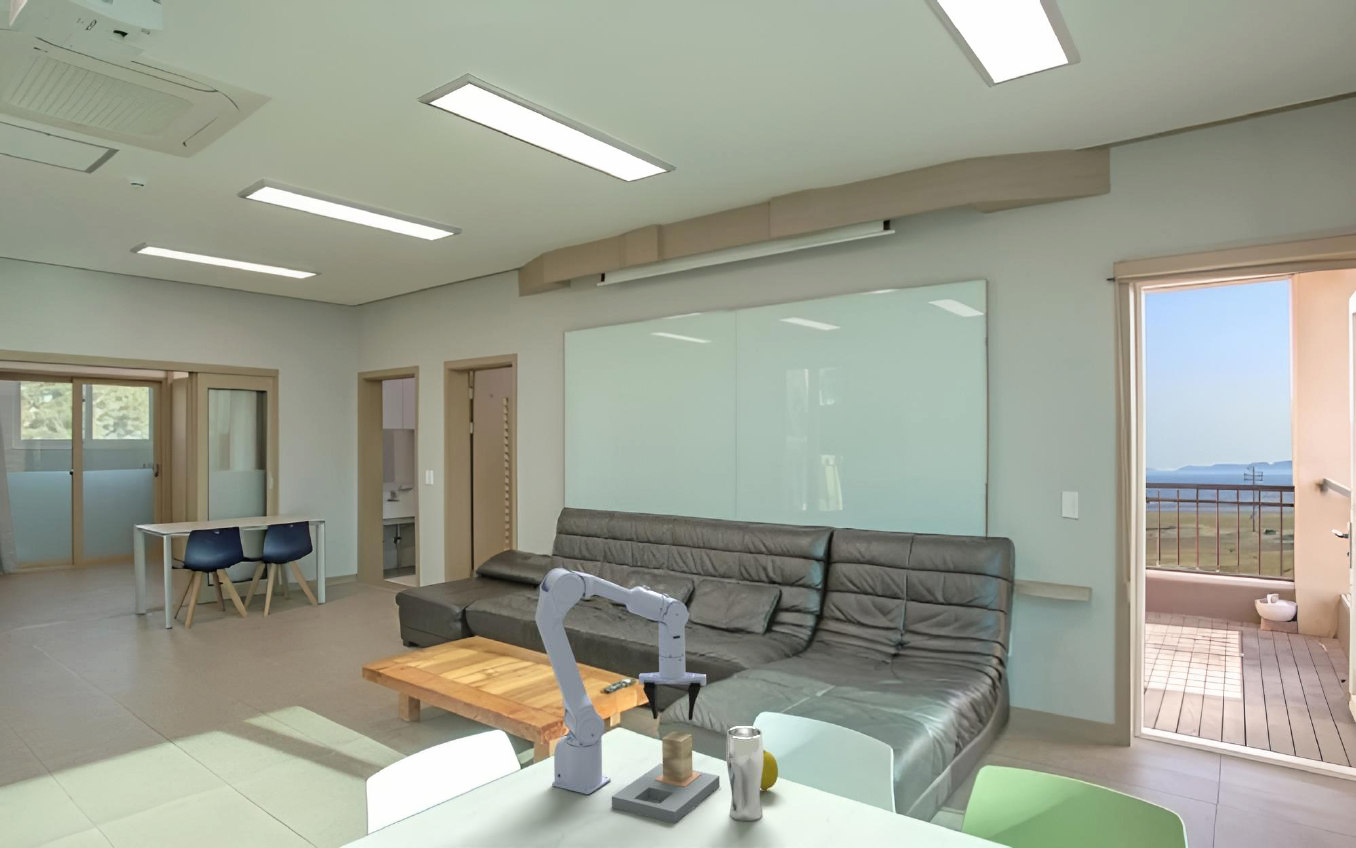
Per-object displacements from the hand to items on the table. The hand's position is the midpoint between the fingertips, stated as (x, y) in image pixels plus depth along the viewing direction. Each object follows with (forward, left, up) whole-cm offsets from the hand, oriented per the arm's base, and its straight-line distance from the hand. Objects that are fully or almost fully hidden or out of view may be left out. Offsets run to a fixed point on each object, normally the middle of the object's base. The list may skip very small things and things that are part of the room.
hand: (673, 718), depth 164 cm
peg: (+6, -9, -8) cm, 13 cm away
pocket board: (+6, -13, -10) cm, 18 cm away
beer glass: (+23, -13, -11) cm, 28 cm away
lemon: (+22, -2, -11) cm, 24 cm away
